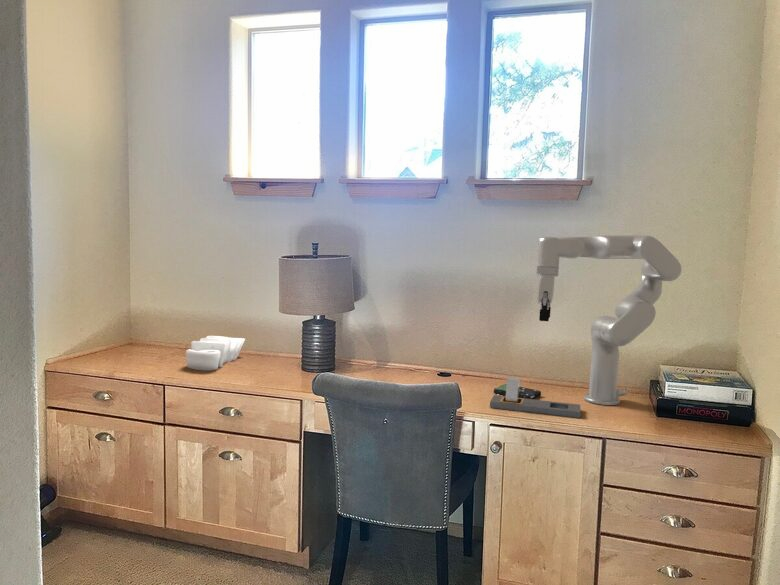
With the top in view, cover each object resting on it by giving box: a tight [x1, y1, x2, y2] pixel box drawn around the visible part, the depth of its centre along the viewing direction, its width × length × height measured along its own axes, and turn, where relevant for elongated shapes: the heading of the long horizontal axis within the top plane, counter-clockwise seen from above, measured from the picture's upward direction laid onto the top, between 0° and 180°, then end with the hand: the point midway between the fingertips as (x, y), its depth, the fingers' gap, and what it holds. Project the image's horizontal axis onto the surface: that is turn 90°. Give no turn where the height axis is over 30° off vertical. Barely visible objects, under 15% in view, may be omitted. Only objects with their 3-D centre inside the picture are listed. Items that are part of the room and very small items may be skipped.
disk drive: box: [493, 383, 542, 400], centre depth 232 cm, size 10×3×15 cm
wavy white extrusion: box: [185, 335, 246, 372], centre depth 267 cm, size 35×16×10 cm, turn 170°
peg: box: [505, 376, 521, 403], centre depth 216 cm, size 4×4×10 cm
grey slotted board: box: [489, 394, 581, 419], centre depth 214 cm, size 30×10×2 cm, turn 73°
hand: (544, 319), depth 221 cm, fingers open, 9 cm apart
